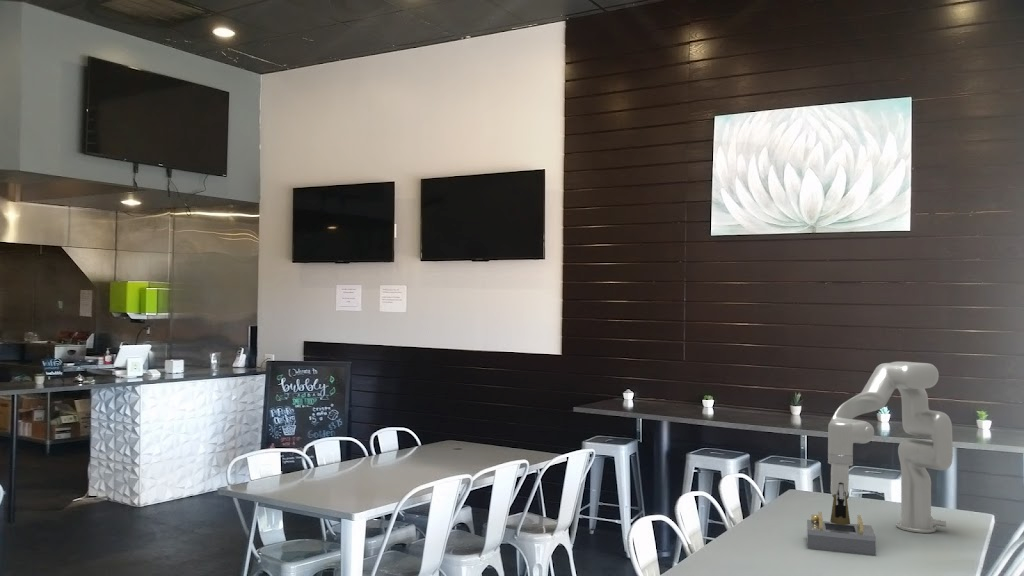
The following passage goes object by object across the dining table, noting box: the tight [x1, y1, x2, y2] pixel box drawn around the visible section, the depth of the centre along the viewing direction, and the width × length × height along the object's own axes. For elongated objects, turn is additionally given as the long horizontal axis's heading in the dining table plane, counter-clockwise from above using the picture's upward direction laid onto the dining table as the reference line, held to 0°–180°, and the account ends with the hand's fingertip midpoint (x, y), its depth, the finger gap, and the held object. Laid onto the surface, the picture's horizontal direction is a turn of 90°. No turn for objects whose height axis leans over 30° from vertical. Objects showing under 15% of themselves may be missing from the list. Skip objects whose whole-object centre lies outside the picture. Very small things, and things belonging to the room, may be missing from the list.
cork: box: [829, 491, 851, 525], centre depth 262 cm, size 6×6×11 cm
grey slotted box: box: [806, 511, 877, 557], centre depth 262 cm, size 20×14×10 cm
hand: (840, 515), depth 262 cm, fingers closed on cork, 4 cm apart
